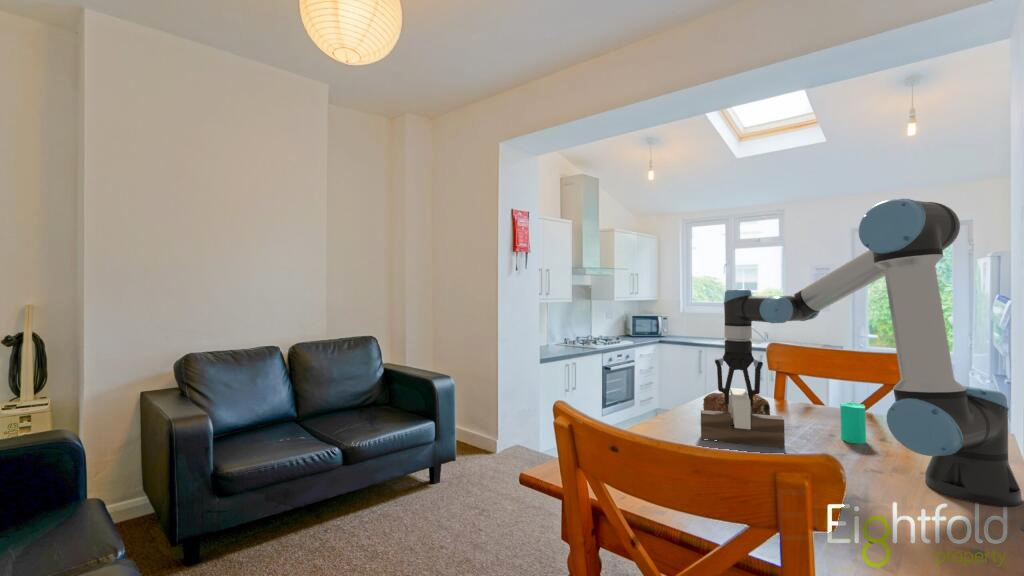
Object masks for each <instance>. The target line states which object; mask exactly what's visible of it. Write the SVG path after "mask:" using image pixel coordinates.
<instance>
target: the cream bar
mask: <svg viewBox="0 0 1024 576" xmlns="http://www.w3.org/2000/svg"><path fill="white" fill-rule="evenodd" d="M730 393H731V395H732V418H733V423H734V427H735V428H741V429H751V414H750V399H749V397H748V395H747V394H748V392H747V390H746V389H745V388H739V387H737V388H735V387H730Z"/></svg>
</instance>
